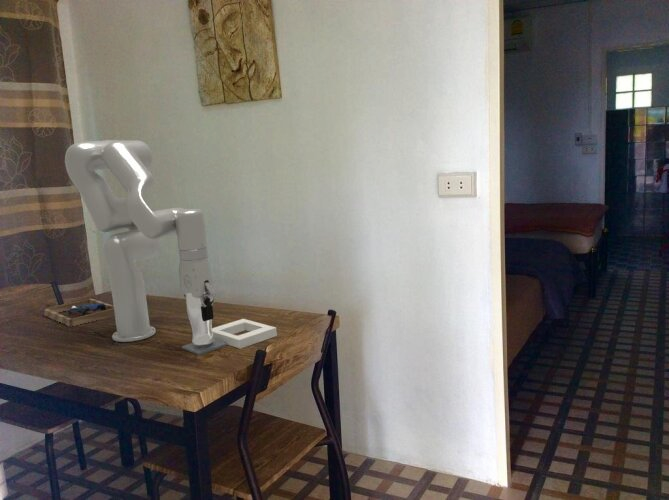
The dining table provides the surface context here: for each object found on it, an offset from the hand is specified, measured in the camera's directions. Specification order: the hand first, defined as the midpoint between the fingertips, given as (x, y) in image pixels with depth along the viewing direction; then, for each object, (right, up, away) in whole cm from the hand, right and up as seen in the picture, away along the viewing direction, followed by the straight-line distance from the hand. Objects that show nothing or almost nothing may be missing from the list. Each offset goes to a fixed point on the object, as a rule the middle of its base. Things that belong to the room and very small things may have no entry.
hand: (200, 317), depth 168 cm
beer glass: (+1, -7, +1) cm, 7 cm away
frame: (-52, -4, +45) cm, 69 cm away
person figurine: (-49, -5, +45) cm, 66 cm away
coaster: (+1, -8, +1) cm, 9 cm away
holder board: (+10, -7, +8) cm, 15 cm away
